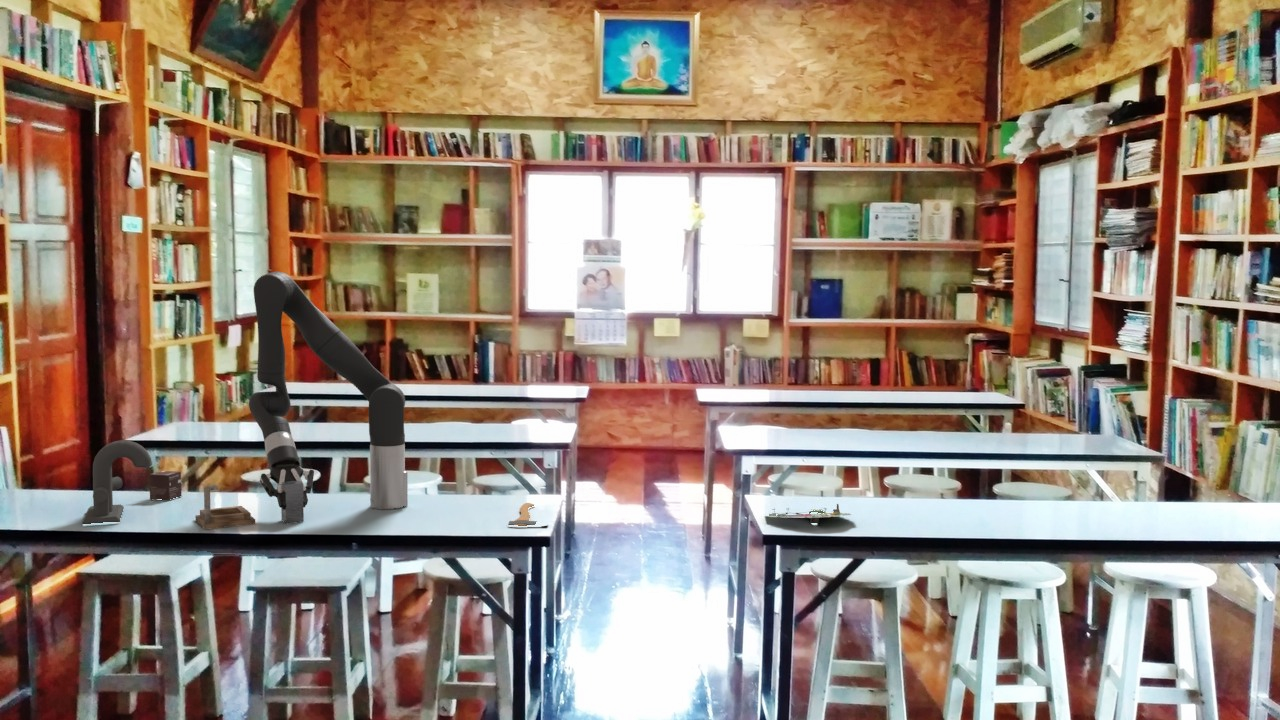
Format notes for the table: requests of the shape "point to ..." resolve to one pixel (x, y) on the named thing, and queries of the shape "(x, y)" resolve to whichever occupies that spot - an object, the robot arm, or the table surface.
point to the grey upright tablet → (293, 501)
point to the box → (165, 485)
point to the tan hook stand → (523, 516)
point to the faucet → (112, 479)
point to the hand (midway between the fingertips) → (294, 506)
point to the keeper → (222, 514)
